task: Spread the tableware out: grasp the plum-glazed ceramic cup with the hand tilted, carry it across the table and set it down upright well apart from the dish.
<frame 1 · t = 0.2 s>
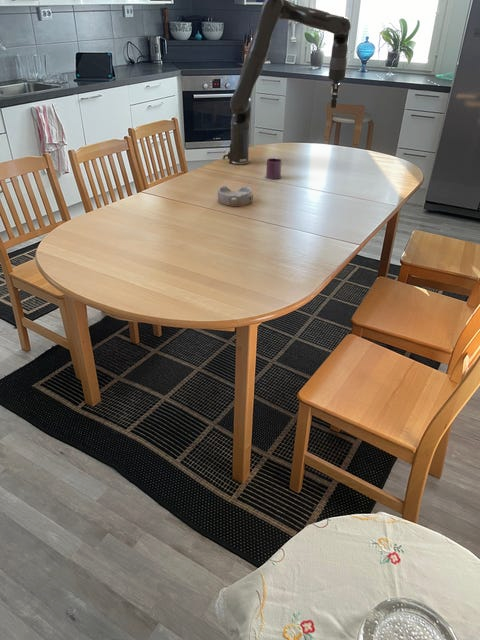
hand: (333, 106, 234), 29 cm above the table, tool pointing down, fingers open, 8 cm apart
dish: (235, 202, 204), on the table
cup: (273, 177, 234), on the table
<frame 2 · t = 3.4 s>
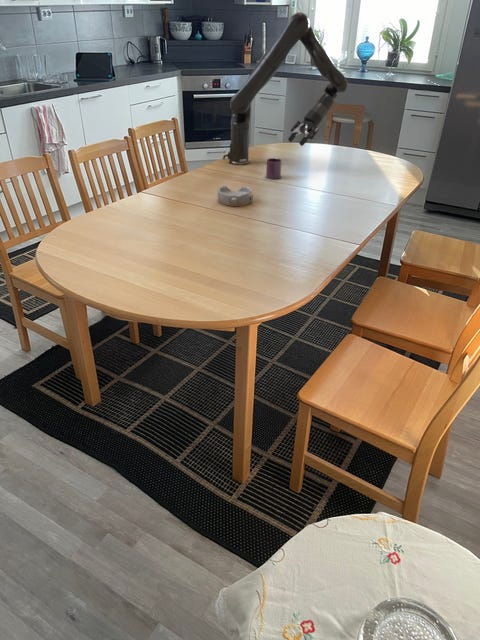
hand: (294, 142, 232), 15 cm above the table, tool tilted 45°, fingers open, 8 cm apart
nothing on the table moved.
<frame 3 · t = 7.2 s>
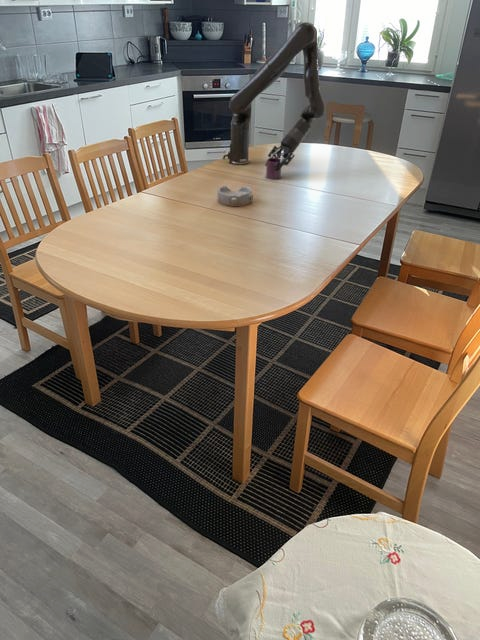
hand: (271, 168, 231), 4 cm above the table, tool tilted 45°, fingers closed on cup, 7 cm apart
cup: (273, 177, 234), on the table, touching gripper
everything else where it was.
when the fingers open (4 cm above the table, at t = 17.2 s): cup stays where it is, on the table.
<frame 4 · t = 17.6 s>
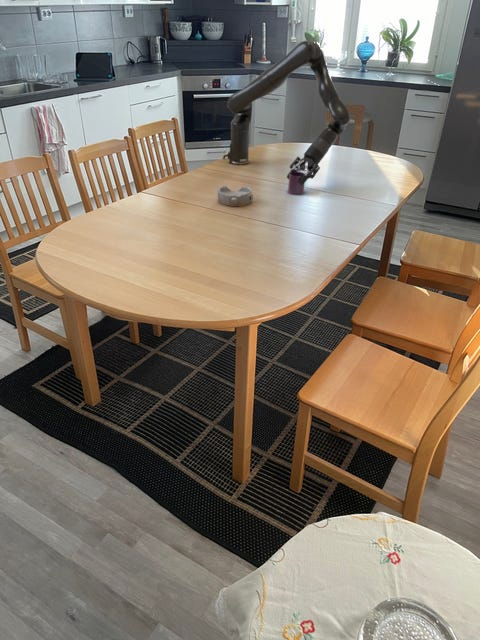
hand: (294, 181, 213), 5 cm above the table, tool tilted 45°, fingers open, 8 cm apart
cup: (295, 192, 216), on the table
everything else where it was.
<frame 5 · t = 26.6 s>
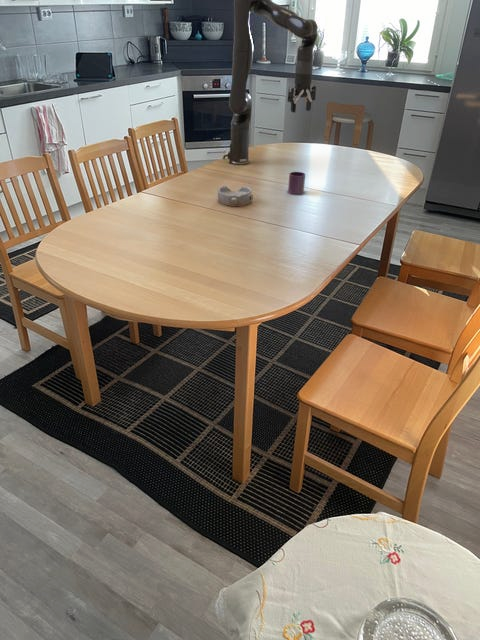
hand: (300, 111, 226), 28 cm above the table, tool pointing down, fingers open, 8 cm apart
nothing on the table moved.
at the end: cup inside the target area (0.1 cm from its centre), on the table; cup tilted 0°; dish moved 0.2 cm from its start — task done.
